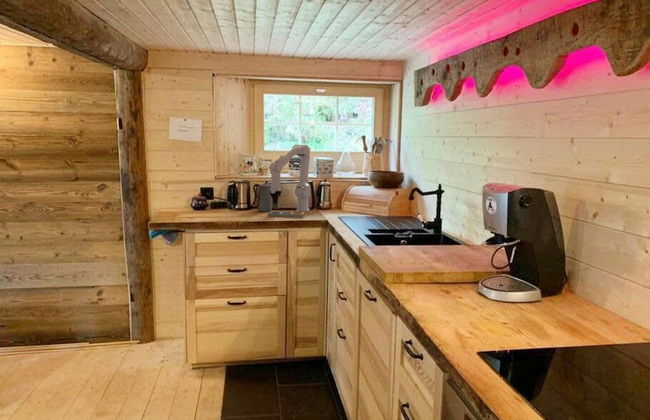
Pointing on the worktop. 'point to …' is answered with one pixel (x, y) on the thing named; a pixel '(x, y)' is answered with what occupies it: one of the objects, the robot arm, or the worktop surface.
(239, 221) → the worktop surface
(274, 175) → the robot arm
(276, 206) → the block
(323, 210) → the worktop surface
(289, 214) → the grey rectangular frame
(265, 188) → the moka pot
